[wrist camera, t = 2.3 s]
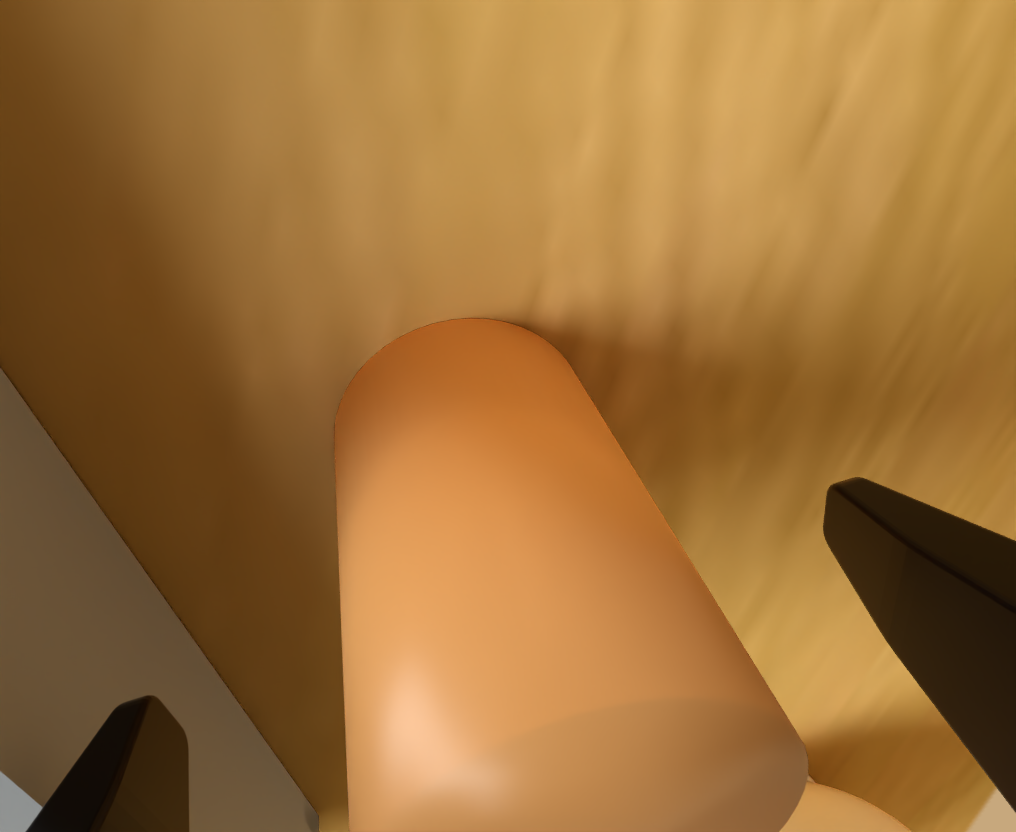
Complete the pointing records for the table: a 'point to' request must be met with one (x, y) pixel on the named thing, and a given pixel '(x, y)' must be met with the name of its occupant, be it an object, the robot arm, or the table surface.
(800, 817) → the lidded jar
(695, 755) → the peach capsule shape
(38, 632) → the inlet box
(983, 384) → the table surface
